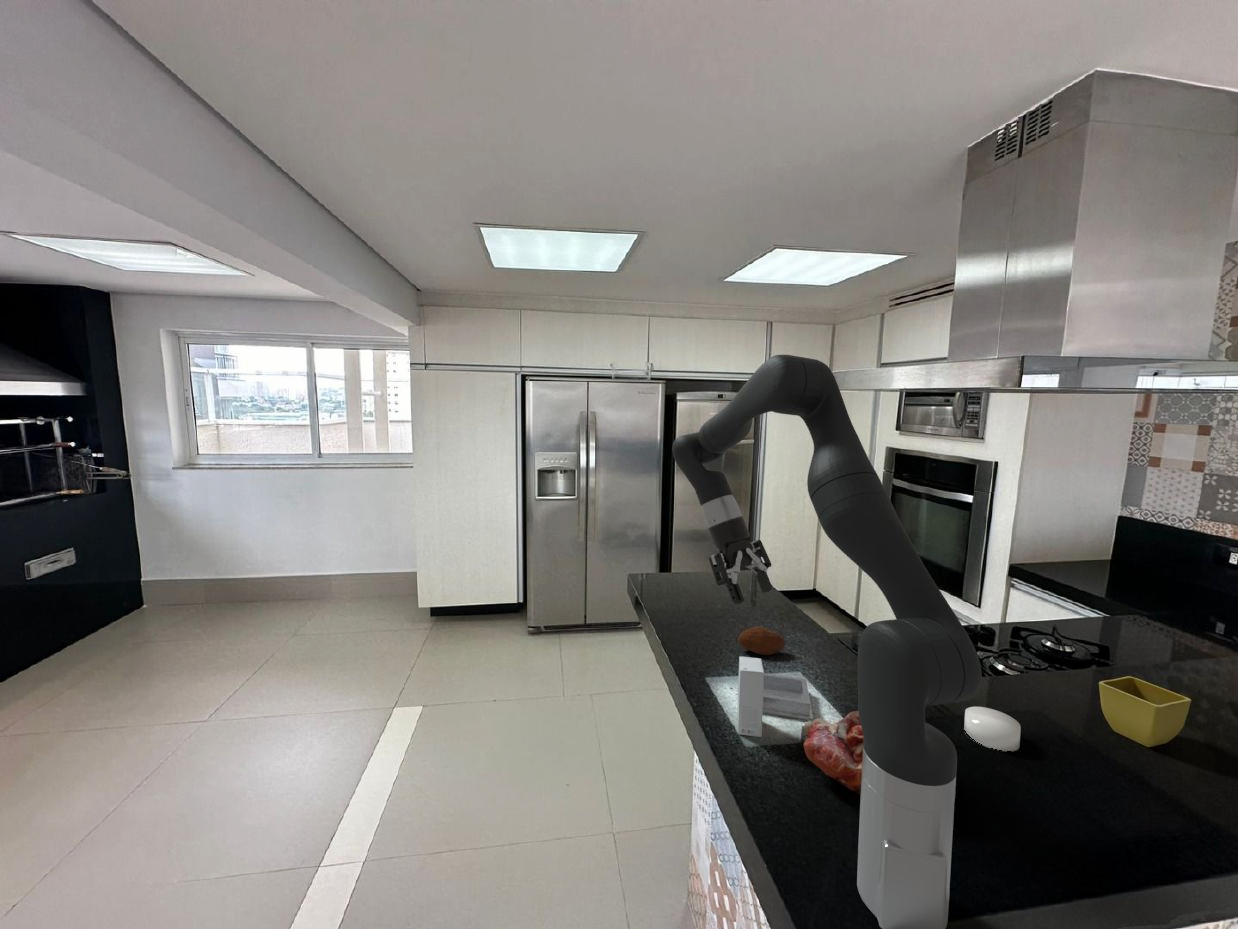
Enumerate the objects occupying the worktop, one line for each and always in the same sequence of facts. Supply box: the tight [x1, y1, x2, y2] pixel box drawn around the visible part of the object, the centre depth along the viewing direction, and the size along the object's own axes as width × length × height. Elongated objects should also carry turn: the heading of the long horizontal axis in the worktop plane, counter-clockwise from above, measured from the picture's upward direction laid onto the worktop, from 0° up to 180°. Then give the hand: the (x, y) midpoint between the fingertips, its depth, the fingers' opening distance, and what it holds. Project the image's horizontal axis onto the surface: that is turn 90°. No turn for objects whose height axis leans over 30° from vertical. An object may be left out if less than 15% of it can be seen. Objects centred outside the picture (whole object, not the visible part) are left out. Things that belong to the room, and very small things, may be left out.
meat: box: [803, 710, 863, 797], centre depth 81 cm, size 21×21×10 cm
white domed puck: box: [963, 706, 1022, 752], centre depth 89 cm, size 8×8×4 cm
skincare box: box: [736, 655, 765, 738], centre depth 91 cm, size 6×4×12 cm
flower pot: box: [1098, 675, 1192, 748], centre depth 89 cm, size 9×9×9 cm
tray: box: [763, 672, 814, 722], centre depth 101 cm, size 11×13×3 cm
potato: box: [737, 626, 786, 656], centre depth 122 cm, size 6×12×6 cm, turn 87°
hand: (754, 597), depth 99 cm, fingers open, 8 cm apart
